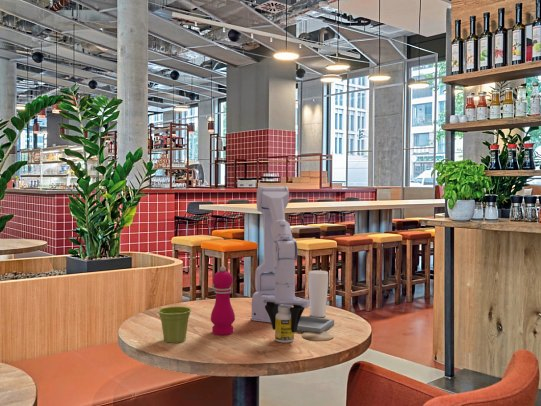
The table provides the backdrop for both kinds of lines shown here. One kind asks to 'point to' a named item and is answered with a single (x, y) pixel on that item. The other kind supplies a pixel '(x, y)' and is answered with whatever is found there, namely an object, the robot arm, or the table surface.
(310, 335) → the cork coaster
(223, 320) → the pepper mill
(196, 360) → the table surface
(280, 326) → the supplement bottle
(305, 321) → the tray
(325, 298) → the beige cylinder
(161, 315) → the plant pot
